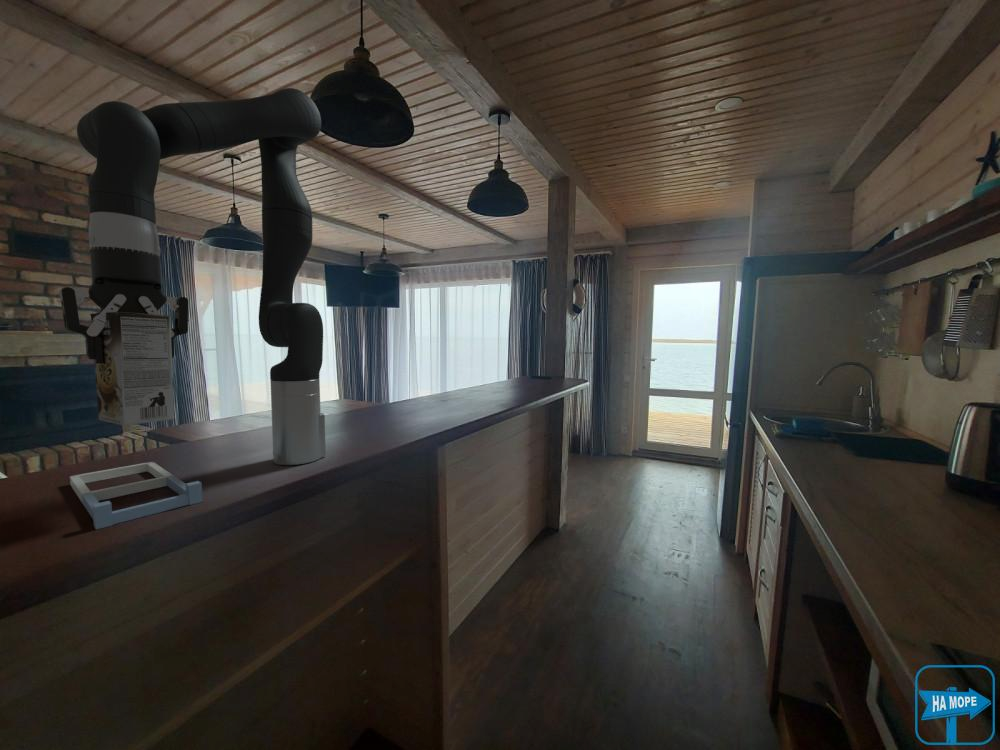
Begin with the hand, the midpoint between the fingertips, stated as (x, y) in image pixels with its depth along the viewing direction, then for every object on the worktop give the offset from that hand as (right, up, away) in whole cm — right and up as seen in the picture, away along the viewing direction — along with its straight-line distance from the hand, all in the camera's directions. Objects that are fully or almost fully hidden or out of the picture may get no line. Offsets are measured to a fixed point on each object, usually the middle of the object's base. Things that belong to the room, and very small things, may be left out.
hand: (133, 362), depth 59 cm
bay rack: (-5, -21, +5) cm, 23 cm away
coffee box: (0, -9, +1) cm, 9 cm away
